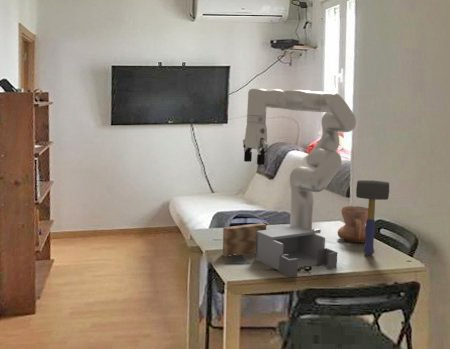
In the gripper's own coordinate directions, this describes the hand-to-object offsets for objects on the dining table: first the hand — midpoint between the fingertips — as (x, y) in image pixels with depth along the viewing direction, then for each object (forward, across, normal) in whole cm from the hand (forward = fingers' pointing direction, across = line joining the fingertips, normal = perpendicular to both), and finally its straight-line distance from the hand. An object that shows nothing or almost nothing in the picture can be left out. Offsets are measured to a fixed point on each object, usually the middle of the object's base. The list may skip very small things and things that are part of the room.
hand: (254, 162), depth 226 cm
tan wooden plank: (+35, -6, +6) cm, 36 cm away
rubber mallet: (+34, -29, -37) cm, 58 cm away
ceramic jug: (+34, -10, -47) cm, 59 cm away
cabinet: (+35, -26, -4) cm, 43 cm away
